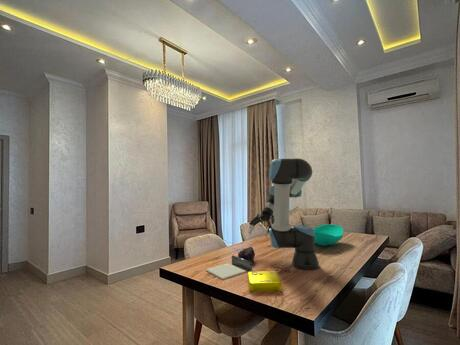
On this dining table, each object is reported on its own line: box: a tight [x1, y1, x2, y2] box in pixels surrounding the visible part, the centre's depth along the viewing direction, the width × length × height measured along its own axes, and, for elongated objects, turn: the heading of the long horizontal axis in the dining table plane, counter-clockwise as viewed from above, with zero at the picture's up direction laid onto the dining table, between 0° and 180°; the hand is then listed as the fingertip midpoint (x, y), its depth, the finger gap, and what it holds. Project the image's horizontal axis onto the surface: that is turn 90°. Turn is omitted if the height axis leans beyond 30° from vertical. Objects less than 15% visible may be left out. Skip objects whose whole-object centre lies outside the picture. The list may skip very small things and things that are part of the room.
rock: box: [237, 246, 256, 262], centre depth 149 cm, size 12×9×10 cm
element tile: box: [247, 270, 282, 293], centre depth 114 cm, size 15×15×5 cm
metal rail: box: [231, 255, 253, 272], centre depth 139 cm, size 17×2×5 cm, turn 37°
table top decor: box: [313, 223, 345, 247], centre depth 185 cm, size 40×28×13 cm
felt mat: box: [205, 262, 247, 281], centre depth 132 cm, size 17×16×1 cm
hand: (257, 234), depth 157 cm, fingers open, 13 cm apart
